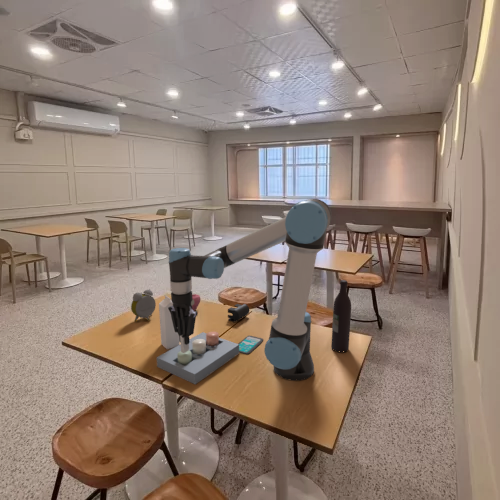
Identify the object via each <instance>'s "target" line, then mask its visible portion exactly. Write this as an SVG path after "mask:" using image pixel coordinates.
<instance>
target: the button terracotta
mask: <svg viewBox="0 0 500 500" xmlns="http://www.w3.org/2000/svg"><path fill="white" fill-rule="evenodd" d="M219 336H220V335H219V332H218V331H208V332H207V334H206V344H207V345H208V346H217V345H218V344H219V338H220V337H219Z"/></svg>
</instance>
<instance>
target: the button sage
mask: <svg viewBox="0 0 500 500" xmlns="http://www.w3.org/2000/svg"><path fill="white" fill-rule="evenodd" d="M177 356H178V363H179V364H181V365H184V366H185V365H187V364H188V363H190V362H192V353H191V351H187V352H185V353H182V352H181V351H180V352H178V354H177Z"/></svg>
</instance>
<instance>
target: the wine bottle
mask: <svg viewBox="0 0 500 500" xmlns="http://www.w3.org/2000/svg"><path fill="white" fill-rule="evenodd" d="M348 284H349V283H348V281H347V280H346V279H341V280H340V282H339V285H340V287H339V292H338V294H337V295H336V297H335V299H334V302H333V310H332V311H333V312H332V327H331V328H332V330H331V344H330V347H331V349H332V350H333V349H334V350H336V351H340V352H339V353H341V352H343V351H347V350H348V351H349V347H350V335H351V333H350V332H351V321H352V320H351V317H352V301H351V298H350V297H349V295H348V291H347V286H348ZM334 350H333V351H334ZM336 351H335V352H336ZM348 351H347V352H348ZM343 353H344V352H343Z"/></svg>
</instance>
